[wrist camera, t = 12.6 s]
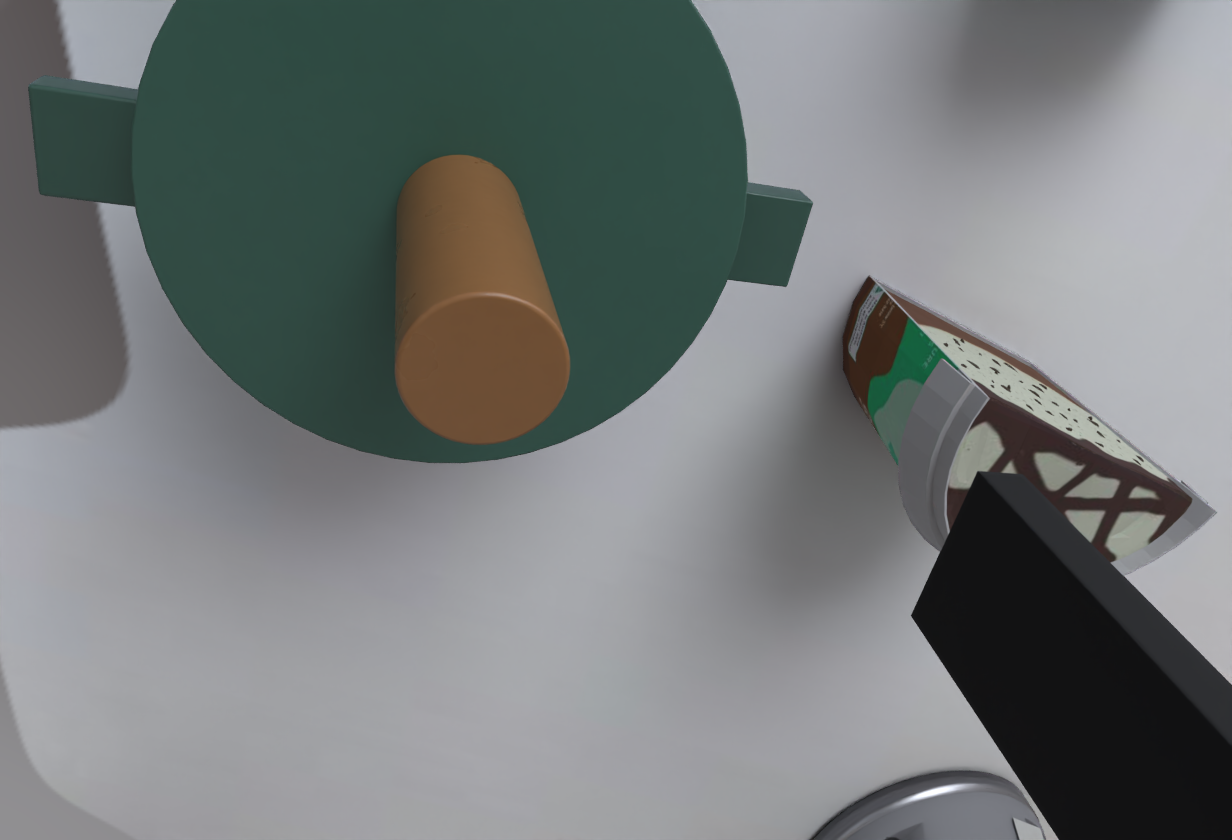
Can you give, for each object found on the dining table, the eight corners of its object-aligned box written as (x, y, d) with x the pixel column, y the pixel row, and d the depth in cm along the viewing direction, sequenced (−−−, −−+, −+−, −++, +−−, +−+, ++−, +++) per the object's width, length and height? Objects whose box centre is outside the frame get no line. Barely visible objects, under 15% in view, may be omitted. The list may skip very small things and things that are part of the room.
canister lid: (664, 454, 27) (759, 678, 20) (155, 420, 24) (46, 678, 16) (802, -57, 21) (1020, -1, 13) (125, -214, 17) (-79, -251, 10)
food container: (750, 389, 37) (849, 548, 29) (839, 259, 35) (975, 390, 27) (965, 484, 42) (1102, 642, 34) (1056, 375, 40) (1226, 516, 32)
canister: (667, 318, 35) (744, 458, 27) (142, 261, 30) (49, 411, 22) (759, -50, 29) (894, -7, 21) (118, -194, 24) (-20, -209, 16)
